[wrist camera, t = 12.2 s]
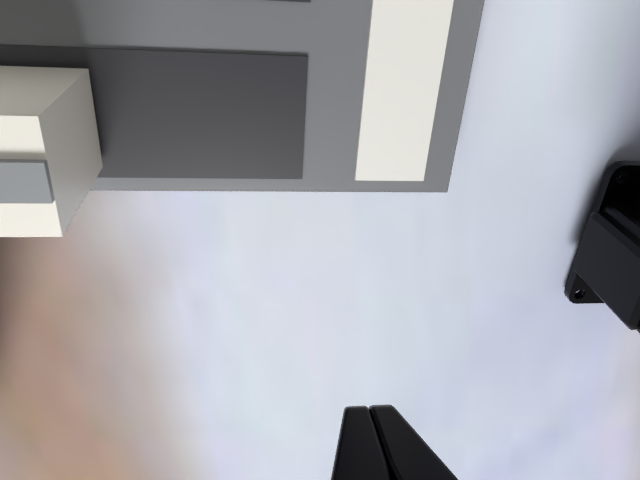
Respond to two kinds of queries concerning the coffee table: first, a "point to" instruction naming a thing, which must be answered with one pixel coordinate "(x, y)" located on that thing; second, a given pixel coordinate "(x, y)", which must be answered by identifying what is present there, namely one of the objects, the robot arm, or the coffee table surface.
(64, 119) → the block
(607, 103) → the coffee table surface
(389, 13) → the breaker panel
